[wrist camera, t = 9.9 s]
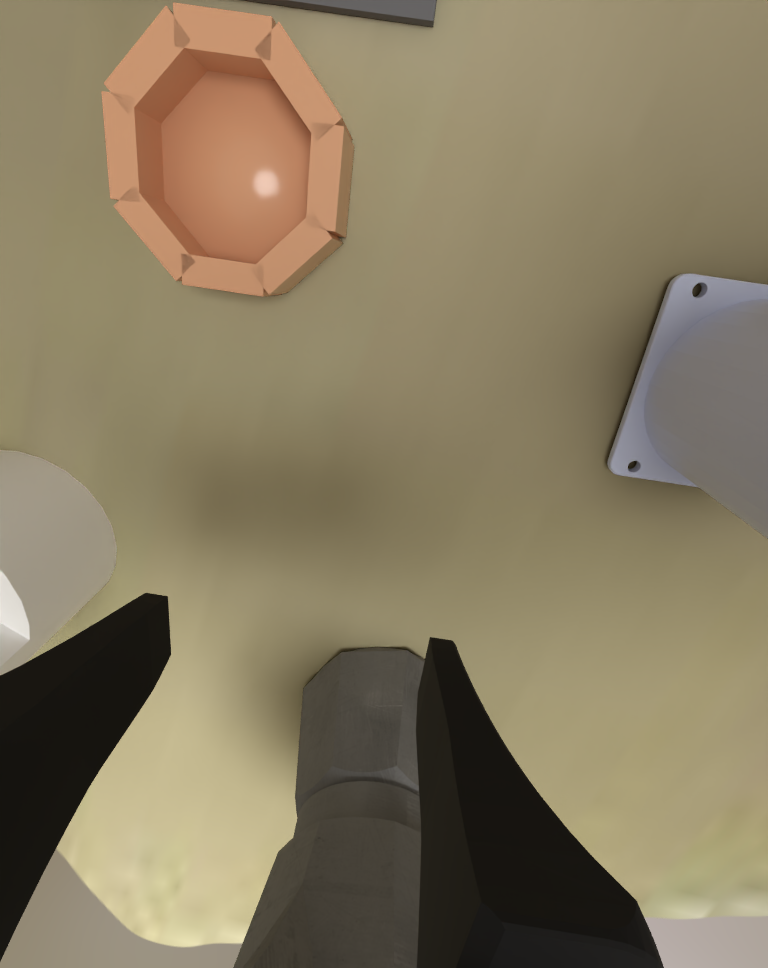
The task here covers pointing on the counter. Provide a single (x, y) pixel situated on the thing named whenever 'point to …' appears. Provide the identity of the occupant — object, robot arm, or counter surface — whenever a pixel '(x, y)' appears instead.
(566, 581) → the counter surface
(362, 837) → the coffeepot
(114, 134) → the bowl
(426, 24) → the mat
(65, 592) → the cylinder with rectangular tab
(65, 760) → the robot arm
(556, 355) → the counter surface
